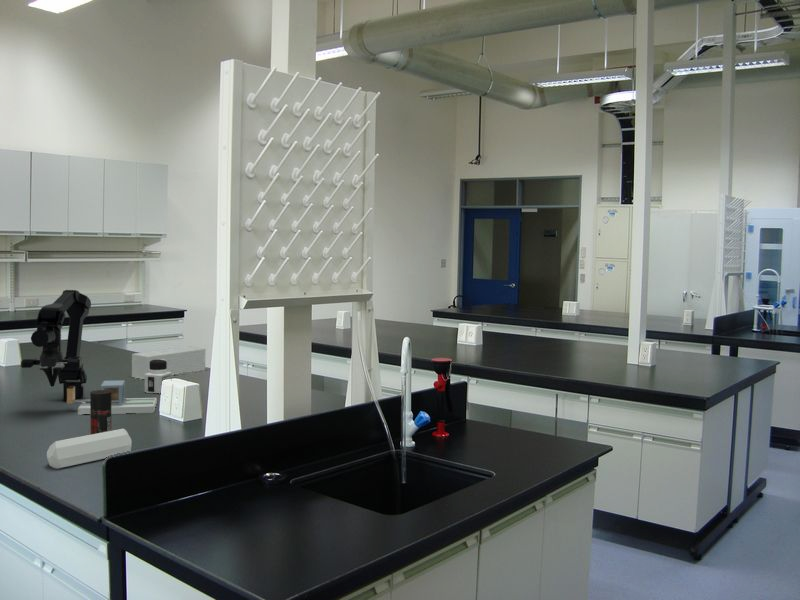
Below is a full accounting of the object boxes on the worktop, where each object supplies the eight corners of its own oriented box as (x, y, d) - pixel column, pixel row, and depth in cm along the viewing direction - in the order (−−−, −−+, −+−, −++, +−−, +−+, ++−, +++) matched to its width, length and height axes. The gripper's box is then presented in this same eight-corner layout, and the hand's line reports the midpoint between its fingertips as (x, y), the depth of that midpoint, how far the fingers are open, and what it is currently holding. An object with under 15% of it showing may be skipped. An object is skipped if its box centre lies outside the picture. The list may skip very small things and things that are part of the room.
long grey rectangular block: (190, 368, 345) (190, 346, 344) (205, 371, 339) (205, 348, 338) (131, 378, 318) (131, 353, 317) (147, 381, 312) (147, 356, 311)
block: (105, 400, 257) (105, 388, 257) (107, 397, 262) (107, 385, 261) (118, 400, 259) (118, 387, 258) (120, 397, 263) (120, 385, 263)
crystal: (121, 434, 216) (38, 450, 198) (131, 426, 212) (48, 441, 194) (127, 457, 215) (44, 476, 196) (138, 450, 210) (54, 468, 192)
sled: (67, 403, 254) (66, 388, 254) (69, 400, 259) (69, 385, 258) (125, 402, 259) (125, 387, 259) (126, 398, 264) (127, 384, 263)
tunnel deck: (78, 415, 251) (77, 387, 250) (84, 405, 265) (84, 379, 264) (153, 413, 257) (153, 386, 257) (156, 404, 271) (156, 378, 270)
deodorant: (94, 437, 225) (94, 389, 224) (114, 437, 226) (113, 390, 224) (87, 442, 219) (87, 394, 218) (107, 442, 220) (107, 394, 218)
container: (161, 394, 287) (161, 362, 286) (144, 392, 289) (144, 360, 288) (171, 390, 295) (171, 359, 294) (154, 389, 296) (154, 357, 295)
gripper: (16, 346, 243) (17, 391, 245) (76, 345, 248) (76, 390, 249) (24, 341, 254) (25, 385, 255) (82, 341, 259) (82, 384, 260)
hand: (52, 386), depth 255 cm, fingers closed
